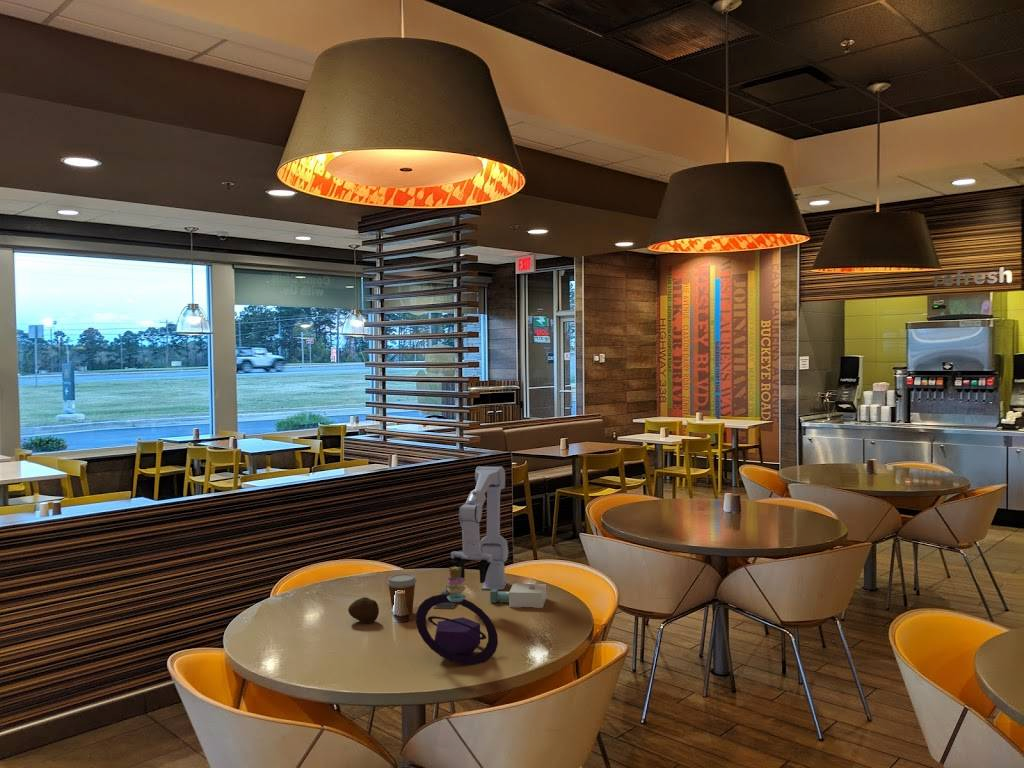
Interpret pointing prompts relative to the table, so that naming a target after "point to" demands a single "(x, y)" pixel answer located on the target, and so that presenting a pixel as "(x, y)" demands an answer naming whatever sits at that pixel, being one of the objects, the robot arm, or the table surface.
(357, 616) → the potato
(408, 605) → the disposable coffee cup
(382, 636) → the table surface
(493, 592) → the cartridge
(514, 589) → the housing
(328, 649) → the table surface
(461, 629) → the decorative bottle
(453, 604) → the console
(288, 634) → the table surface
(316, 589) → the table surface
